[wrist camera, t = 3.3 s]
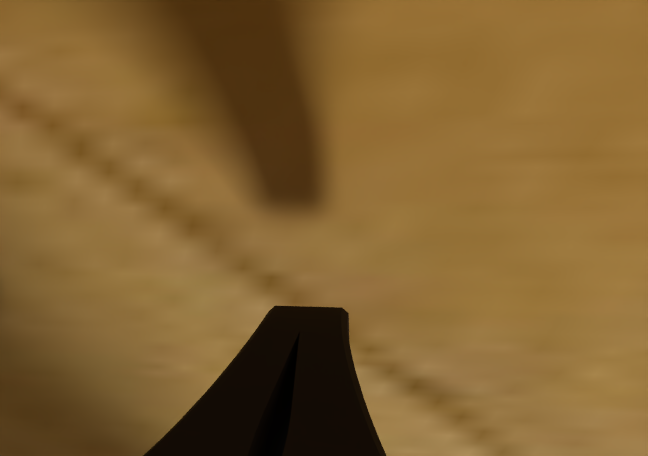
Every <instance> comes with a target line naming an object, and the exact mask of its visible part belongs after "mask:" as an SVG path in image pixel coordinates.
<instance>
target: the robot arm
mask: <svg viewBox="0 0 648 456" xmlns="http://www.w3.org/2000/svg"><path fill="white" fill-rule="evenodd" d="M143 456H386V454H385V451H384V449H383V447H382V445H381V442H380V440H379V437H378V435H377V433H376V430H375V427H374V425H373V422H372V420H371V417H370V415H369V412H368V409H367V406H366V403H365V400H364V398H363V394H362V391H361V388H360V384H359V381H358V378H357V374H356V371H355V367H354V363H353V359H352V354H351V349H350V344H349V315H348V313H347V312H346V311H345V310H344V309H343V308H334V307H299V306H274V307H273V308H272V309H271V310H270V311H269V312H268V314H267V315H266V316H265V318H264V319H263V321H262V322H261V324H260V325H259V326H258V328H257V329H256V331H255V332H254V333H253V335H252V336H251V337H250V339H249V340H248V341H247V343H246V344H245V345H244V347H243V348H242V349H241V350H240V352H239V353H238V354H237V356H236V357H235V358H234V359H233V361H232V362H231V363H230V364H229V365H228V367H227V368H226V369H225V370H224V371H223V373H222V374H221V375H220V376H219V378H218V379H217V380H216V381H215V382H214V384H213V385H212V386H211V387H210V388H209V389H208V390H207V392H206V393H205V394H204V395H203V396H202V397H201V398H200V399H199V400H198V401H197V402H196V403H195V405H194V406H193V407H192V408H191V409H190V410H189V411H188V412H187V413H186V414H185V415H184V416H183V418H182V419H181V420H180V421H179V422H178V423H177V424H176V425H175V426H174V427H173V428H172V429H171V430H170V431H169V432H168V433H167V434H166V435H165V436H164V437H163V438H162V439H161V440H160V441H158V442H157V443H156V444H155V445H154V446H153V447H152V448H151V449H150V450H149V451H148V452H147V453H146V454H144V455H143Z"/></svg>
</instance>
